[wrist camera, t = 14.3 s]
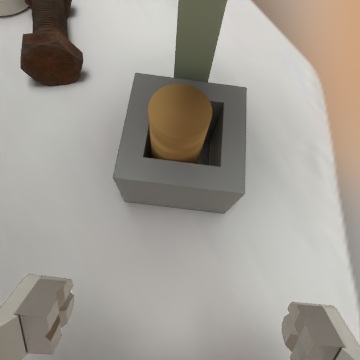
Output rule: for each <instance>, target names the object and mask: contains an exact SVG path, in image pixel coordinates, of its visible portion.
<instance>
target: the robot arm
mask: <svg viewBox="0 0 360 360" xmlns="http://www.w3.org/2000/svg"><path fill="white" fill-rule="evenodd" d="M72 287H73V284H72V280H71V279H66V278H58V277H51V276H42V275H34V274H29V275H27V276H26V277H24V279H23V280H22V281H21V283H20V284H19V285H18V286H17V288H16V289H15V290H14V292H13V293H12V294H11V295H10V297H9V298H8V299H7V301H6V302H5V303H4V304H3V306H2V307H1V308H0V360H21V359H22V358H23V357H24V356H25V355H26V353H37V354H53V352H54V350H55V348H56V346H57V344H58V342H59V340H60V338H61V335H62V334H61V328H62V327H63V326H64V325H65V324H67V323H68V320H69V318H70V316H71V313H72V309H73V304H74V295H73V294H72V293H71V292H70V291H71V289H72ZM288 311H289V314H288V315H287V316H285V317H284V319H283V322H282V335H283V339H284V342H285V345H286V346H287V347H288V348H289V349H290V350H291V351H292V353H291V356H290V360H360V346H359V344H358V342H357V341H356V339H355V338H354V336H353V334H352V333H351V331H350V329H349V328H348V326H347V325H346V323H345V321H344V320H343V318H342V317H341V315H340V313H339V312H338V310H337V309H336V308H335V307H334V306H331V305H321V304H319V305H318V304H312V303H301V302H291V303H290V304H289V306H288Z"/></svg>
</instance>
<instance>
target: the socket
mask: <svg viewBox="0 0 360 360" xmlns="http://www.w3.org/2000/svg"><path fill="white" fill-rule="evenodd" d="M171 84H187V85H190V86H193V87H196V88H197V89H199V90H200V91H202V92H203V93H204V94H205V95H206V96H207V98H208V99H209V101H210V103H211V106H212V118H211V121H210V124H209V128H208V131H207V134H206V137H205V140H210V153H209V165H201V164H193V163H185V162H177V161H169V160H161V159H153V158H152V153H151V140H150V128H149V115H148V105H149V101H150V99H151V97H152V96H153V95H154V93H155V92H156V91H158V90H159V89H161V88H162V87H164V86H167V85H171ZM246 92H247V88H246V87H238V86H231V85H223V84H216V83H208V82H201V81H193V80H186V79H178V78H171V77H163V76H156V75H148V74H141V73H135V76H134V81H133V86H132V90H131V95H130V100H129V104H128V109H127V114H126V118H125V123H124V128H123V132H122V137H121V142H120V146H119V151H118V156H117V160H116V165H115V170H114V174H113V179H114V181H115V183H116V185H117V187H118V189H119V191H120V193H121V195H122V197H123V199H124V201H126V202H134V203H142V204H151V205H159V206H167V207H176V208H184V209H192V210H201V211H209V212H217V213H225V212H226V211H228V210H229V209H230V208H231V207H232V206H233V205H234V204H235V203H236V202H237V201H238V200H239V199H240V198H241V197H242V196H243V195H244V194H245V153H246Z"/></svg>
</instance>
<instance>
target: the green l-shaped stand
mask: <svg viewBox="0 0 360 360" xmlns="http://www.w3.org/2000/svg"><path fill="white" fill-rule="evenodd" d="M226 3H227V0H179V2H178V18H177V35H176V51H175V67H174V78H178V79H186V80H193V81H201V82H208V78H209V74H210V70H211V66H212V62H213V57H214V53H215V49H216V45H217V41H218V36H219V32H220V28H221V24H222V19H223V15H224V11H225V7H226Z"/></svg>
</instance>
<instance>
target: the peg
mask: <svg viewBox="0 0 360 360" xmlns="http://www.w3.org/2000/svg"><path fill="white" fill-rule="evenodd" d="M148 115H149V128H150V140H151V153H152V158H153V159H161V160H169V161H177V162H185V163H193V164H197V162H198V159H199V156H200V153H201V150H202V146H203V143H204V140H205V137H206V134H207V131H208V128H209V124H210V121H211V118H212V106H211V103H210V101H209V99H208V98H207V96H206V95H205V94H204V93H203V92H202V91H200V90H199V89H197V88H196V87H193V86H190V85H187V84H171V85H167V86H164V87H162V88H161V89H159V90H158V91H156V92H155V93H154V95H153V96H152V97H151V99H150V101H149V105H148Z"/></svg>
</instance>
